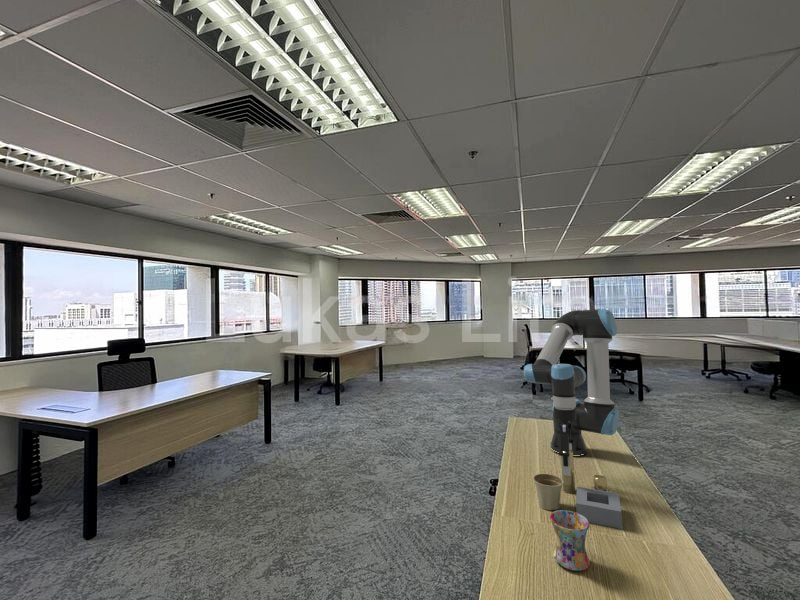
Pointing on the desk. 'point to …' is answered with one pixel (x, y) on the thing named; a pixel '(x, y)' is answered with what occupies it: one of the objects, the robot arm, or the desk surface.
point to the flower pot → (548, 490)
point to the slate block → (599, 507)
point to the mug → (570, 539)
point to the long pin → (569, 477)
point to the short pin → (600, 482)
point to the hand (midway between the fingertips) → (567, 467)
